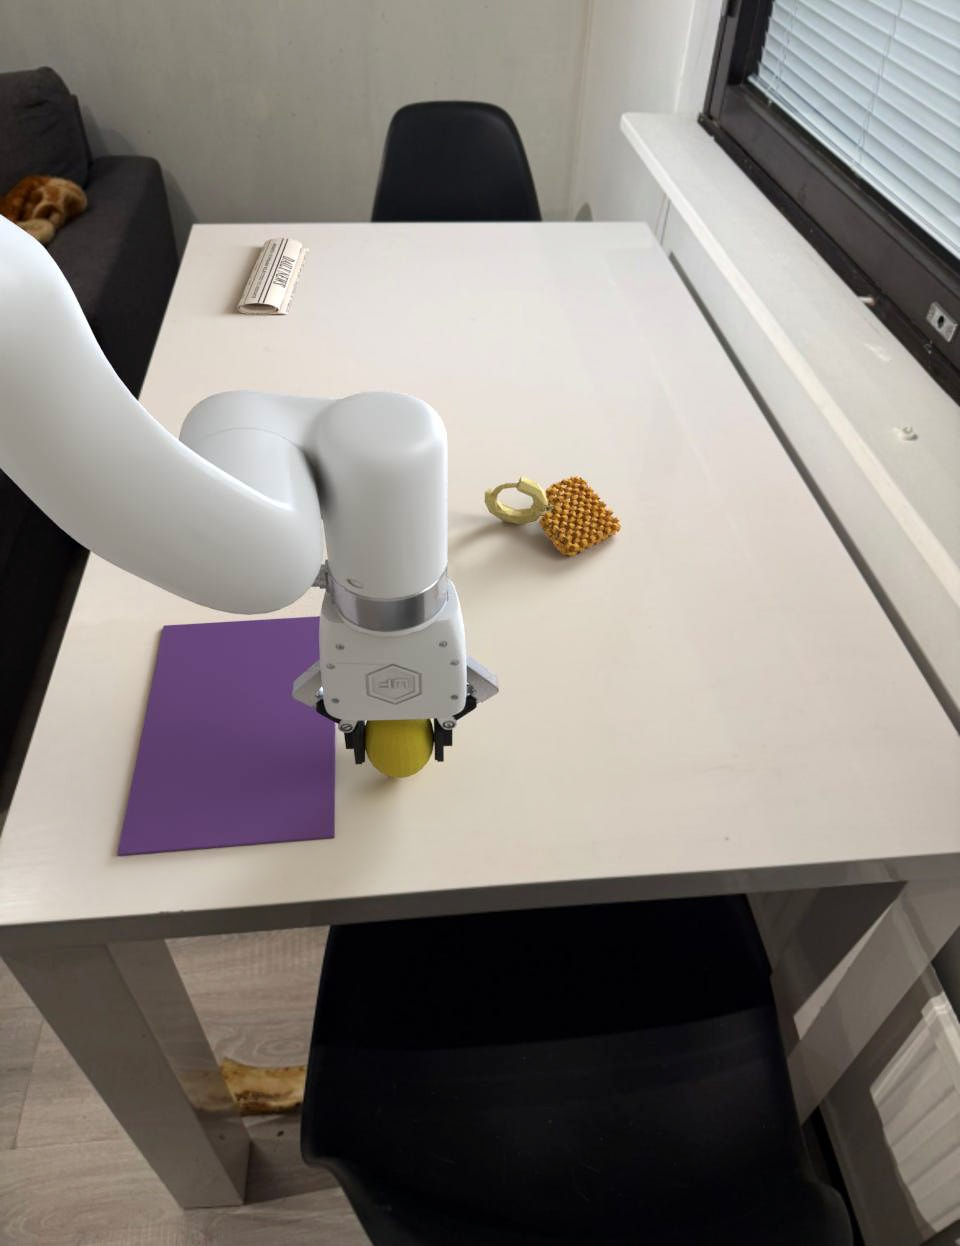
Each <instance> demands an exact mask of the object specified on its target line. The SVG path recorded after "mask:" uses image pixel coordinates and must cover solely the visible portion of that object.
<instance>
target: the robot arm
mask: <svg viewBox="0 0 960 1246" xmlns="http://www.w3.org/2000/svg"><path fill="white" fill-rule="evenodd" d="M179 431H180V432H179V436H178V438H177V437H175V436H174V434H172V433H171V432H169V430H167V429H166V428H165V427H164V426H163V425H162V424H161V423H160V422H159V421H157V420H156V418H154V417H153V416H152V414H150V413H149V411H148V410H147V409H146V408H145V407H144V406H143V404H141V402H140V401H138V399H137V398H136V397H135V396H134V394H132V392H131V391H130V390H129V388H128V387H127V386H126V385H125V383H124V382H123V381H122V379H121V378H120V377H119V375H118V374H117V373H116V371H115V369H114V368H113V366H112V364H111V363H110V362H109V360H108V359H107V357H106V355H105V354H104V351H103V350H102V349H101V346H100V344H99V343H98V341H97V339H96V337H95V335H94V333H93V330H92V329H91V326H90V324H89V322H88V320H87V318H86V315H85V314H84V312H83V309H82V308H81V305H80V303H79V301H78V298H77V297H76V295H75V292H74V291H73V289H72V287H71V285H70V283H69V282H68V280H67V278H66V277H65V275H64V273H63V272H62V270H61V269H60V267H59V265H58V264H57V262H56V261H55V259H54V258H53V257H52V256H51V254H50V253H49V252H48V251H47V249H46V248H45V246H44V245H42V243H40V241H38V240H37V239H36V238H35V237H34V236H33V235H31V234H30V233H28V232H27V231H25V230H24V229H23V228H22V227H20V226H19V225H17V224H15V223H14V222H13V221H11V220H10V219H8V218H7V217H5V216H3V214H0V469H1V470H2V472H4V473H5V475H7V477H9V479H11V480H12V481H13V483H14V484H15V485H17V487H18V488H19V489H20V490H21V491H22V492H23V493H24V494H25V495H26V496H27V497H28V498H29V499H30V501H32V503H34V505H36V506H37V507H38V508H39V509H40V510H41V512H43V513H44V514H45V515H46V516H47V517H48V518H49V520H51V521H52V522H53V523H55V525H56V526H58V527H59V529H61V530H63V531H64V532H65V533H66V534H67V535H68V536H70V538H72V539H73V540H75V542H77V543H79V544H80V545H81V546H83V547H84V548H86V549H87V550H89V551H90V552H91V553H92V554H94V555H96V556H98V557H99V558H101V559H103V560H104V561H106V562H108V563H109V564H111V565H112V566H115V567H117V568H119V569H121V570H123V571H125V572H126V573H129V574H131V575H133V576H135V577H138V578H139V579H141V580H144V581H145V582H148V583H150V584H152V585H153V586H156V587H157V588H160V589H162V590H164V591H166V592H168V593H170V594H173V595H175V596H177V597H179V598H181V599H183V600H186V601H188V602H190V603H193V604H195V605H199V606H202V607H205V608H208V609H210V610H214V611H218V612H223V613H228V614H234V615H246V616H251V615H253V616H254V615H262V614H263V615H264V614H265V615H266V614H269V613H273V612H277V611H280V610H283V609H284V608H286V607H288V606H290V605H293V604H294V603H296V602H297V601H298V600H299V599H301V598H302V597H303V596H305V594H307V592H308V591H309V590H310V588H318V587H319V589H320V590H323V589H325V591H324V595H323V599H322V601H321V602H322V603H321V607H320V614H319V616H320V623H319V651H320V659H319V660H318V661H317V662H316V663H315V664H314V665H312V666H311V667H310V668H309V669H308V670H307V671H305V672H304V673H303V674H302V675H301V676H300V677H299V678H297V679H296V680H295V681H294V682H293V691H292V697H293V699H295V700H297V701H299V702H301V703H303V704H305V705H307V706H309V707H314V708H316V711H317V713H319V714H321V715H322V716H324V717H326V718H328V719H330V720H332V721H334V722H335V724H337V729H338V731H339V732H341V733H343V736H344V744H345V749H346V750H353V756H354V765H363V764H364V763H365V762H366V750H365V746H364V729H365V725H366V721H367V720H405V719H430V720H431V719H433V730H434V747H433V751H434V761H437V763H442V762H444V761H445V751H444V749H445V747H453V730H454V729H456V727H457V725H458V720H460V719H462V718H463V717H464V716H467V715H468V714H470V713H471V712H473V711H474V710H475V709H476V708H477V707H478V704H480V703H484V702H486V701H487V700H489V699H491V698H492V697H494V696H495V695H497V694H498V693H499V692H500V687H499V678H498V676H497V674H495V673H493V672H492V671H491V670H490V669H488V668H487V667H485V666H484V665H483V664H482V663H481V662H478V661H477V659H475V658H473V657H472V656H471V655H469V654H468V653H467V648H466V647H467V645H466V633H465V632H466V631H465V623H464V619H463V613H462V608H461V603H460V599H459V596H458V592H457V589H456V586H455V584H454V582H453V581H452V580H451V578H450V577H448V496H449V495H448V489H449V488H448V487H449V485H448V483H449V481H448V480H449V479H448V477H449V475H448V468H449V467H448V464H449V460H448V459H449V454H448V453H449V450H448V449H449V448H448V436H447V435H448V434H447V431H446V428H445V424H444V422H443V420H442V419H441V417H440V415H439V414H438V413H437V411H436V410H435V409H434V408H433V407H432V406H431V405H430V404H428V403H426V402H425V401H424V400H422V399H420V398H417V397H416V396H413V395H410V394H407V393H403V392H398V391H392V390H372V391H370V390H369V391H363V392H358V393H354V394H351V395H349V396H346V397H343V398H333V397H330V398H329V397H319V396H307V395H298V394H290V393H281V392H272V391H265V390H264V391H262V390H255V389H253V390H252V389H251V390H247V389H246V390H245V389H243V390H242V389H241V390H239V389H238V390H229V391H222V392H218V393H215V394H212V395H209V396H207V397H205V398H203V399H202V400H200V401H199V402H198V403H196V404H195V405H194V406H193V407H192V408H191V409H190V411H189V412H188V413H187V414H186V415H185V417H184V420H183V422H182V424H181V427H180V430H179ZM324 540H325V543H324ZM324 544H325V545H324ZM324 549H326V556H327V559H325V560H324V563H323V559H324Z"/></svg>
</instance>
